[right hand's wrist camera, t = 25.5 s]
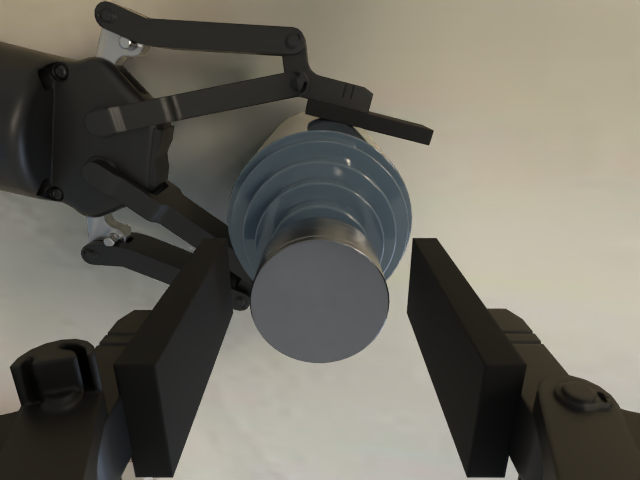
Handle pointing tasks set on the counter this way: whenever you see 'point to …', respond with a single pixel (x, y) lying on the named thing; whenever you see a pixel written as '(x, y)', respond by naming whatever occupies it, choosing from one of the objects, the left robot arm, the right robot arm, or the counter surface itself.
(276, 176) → the bottle
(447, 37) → the counter surface
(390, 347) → the counter surface
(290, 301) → the cap
